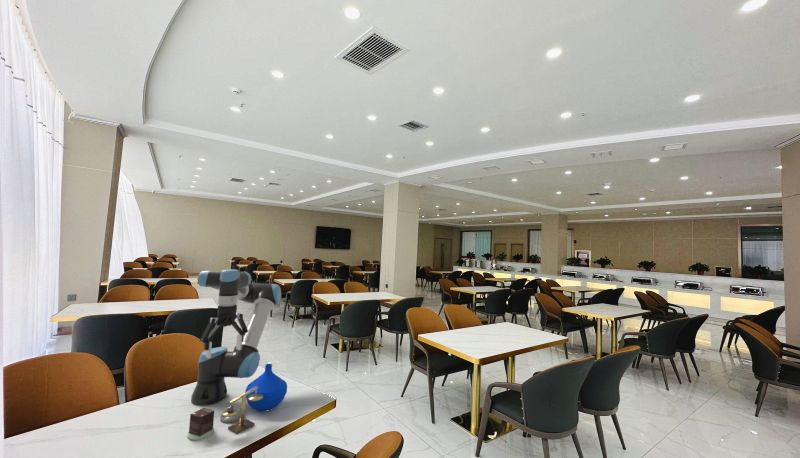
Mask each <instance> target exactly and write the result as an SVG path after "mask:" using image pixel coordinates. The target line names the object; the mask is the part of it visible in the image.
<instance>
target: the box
mask: <svg viewBox="0 0 800 458" xmlns="http://www.w3.org/2000/svg"><path fill="white" fill-rule="evenodd" d="M189 415H190V417H189V427H188V432H189V433H190V434H194V435H197V436H202V435H203V434H205V433H207V432H209V431H211V430H212V429H213V427H214V420H215V410H213V409H210V408H206V407H203V408H200V409H198V410H196V411H194V412H191V413H190V414H189Z"/></svg>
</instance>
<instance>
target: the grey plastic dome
mask: <svg viewBox="0 0 800 458" xmlns="http://www.w3.org/2000/svg"><path fill="white" fill-rule="evenodd" d="M240 414H241V410H239V413H238V414H237V415H235V416H233V417H223V416H222V415H221V416H220V419H219V420H220V422H221V423H222V424H226V425H227V424H236V423H238V422H240Z"/></svg>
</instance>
